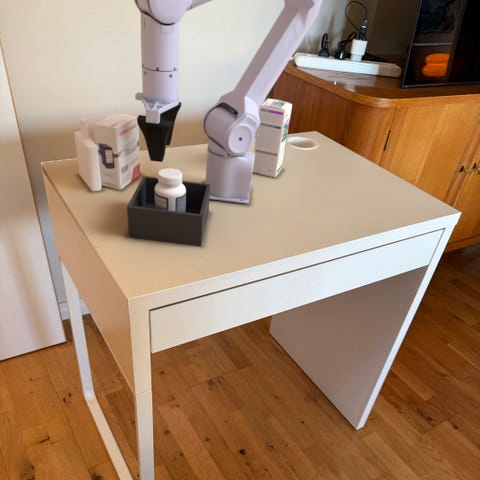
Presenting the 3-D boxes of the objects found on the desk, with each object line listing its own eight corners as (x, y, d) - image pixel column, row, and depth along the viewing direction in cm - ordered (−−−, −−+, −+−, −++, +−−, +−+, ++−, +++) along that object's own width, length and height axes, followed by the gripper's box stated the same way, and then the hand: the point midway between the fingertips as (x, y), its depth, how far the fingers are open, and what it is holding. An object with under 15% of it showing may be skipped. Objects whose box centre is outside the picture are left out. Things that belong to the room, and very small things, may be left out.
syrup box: (275, 178, 101) (287, 109, 91) (250, 172, 102) (259, 103, 92) (282, 169, 105) (293, 102, 95) (258, 163, 106) (267, 97, 96)
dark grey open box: (208, 212, 86) (210, 184, 82) (200, 246, 76) (202, 216, 73) (144, 204, 85) (143, 175, 82) (128, 237, 76) (126, 206, 72)
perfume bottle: (102, 190, 88) (96, 126, 80) (92, 191, 87) (85, 127, 79) (88, 173, 92) (81, 111, 85) (79, 174, 91) (71, 112, 84)
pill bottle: (183, 213, 83) (184, 166, 77) (187, 228, 79) (188, 179, 73) (153, 213, 82) (153, 166, 76) (156, 228, 78) (155, 179, 72)
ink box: (119, 169, 95) (115, 110, 88) (141, 174, 95) (139, 116, 87) (98, 185, 89) (92, 123, 81) (121, 191, 88) (117, 128, 81)
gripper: (143, 54, 77) (146, 135, 86) (123, 74, 66) (128, 165, 75) (185, 59, 77) (183, 140, 86) (172, 81, 66) (171, 170, 75)
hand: (160, 152), depth 80 cm, fingers open, 7 cm apart
